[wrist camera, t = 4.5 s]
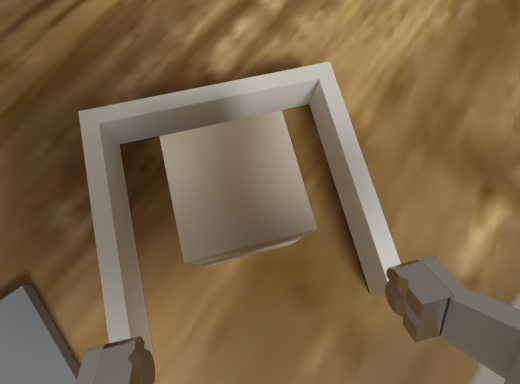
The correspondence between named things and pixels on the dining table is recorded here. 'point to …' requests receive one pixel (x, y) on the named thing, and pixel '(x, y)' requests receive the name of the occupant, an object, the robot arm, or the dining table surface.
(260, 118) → the birch block
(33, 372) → the grey tile
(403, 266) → the robot arm
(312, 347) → the dining table surface
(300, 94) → the white u-shaped frame
